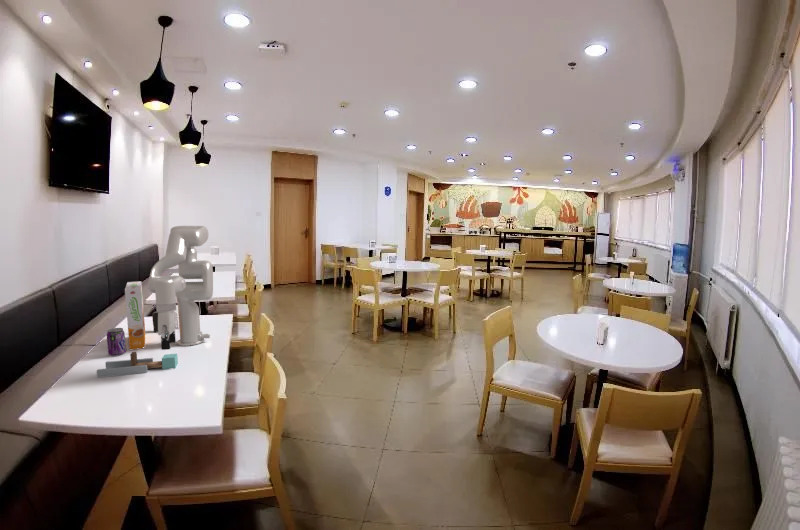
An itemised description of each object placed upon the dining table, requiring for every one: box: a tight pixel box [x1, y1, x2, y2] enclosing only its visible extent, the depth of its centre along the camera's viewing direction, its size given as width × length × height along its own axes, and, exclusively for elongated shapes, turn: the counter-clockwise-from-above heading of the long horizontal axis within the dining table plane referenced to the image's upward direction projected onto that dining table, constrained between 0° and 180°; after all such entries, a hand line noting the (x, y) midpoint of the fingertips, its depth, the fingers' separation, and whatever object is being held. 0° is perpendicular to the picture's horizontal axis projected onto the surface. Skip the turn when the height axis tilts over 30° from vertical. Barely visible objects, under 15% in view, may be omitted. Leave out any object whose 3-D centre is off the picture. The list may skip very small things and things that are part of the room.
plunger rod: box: [129, 351, 162, 370], centre depth 182 cm, size 12×3×7 cm, turn 106°
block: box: [161, 353, 179, 370], centre depth 184 cm, size 5×5×5 cm
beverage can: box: [106, 327, 127, 357], centre depth 199 cm, size 7×7×12 cm
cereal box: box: [124, 280, 146, 350], centre depth 215 cm, size 22×6×30 cm, turn 30°
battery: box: [151, 311, 158, 333], centre depth 236 cm, size 7×4×11 cm, turn 119°
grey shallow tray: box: [96, 357, 154, 378], centre depth 180 cm, size 18×10×3 cm, turn 106°
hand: (168, 346), depth 183 cm, fingers open, 9 cm apart
